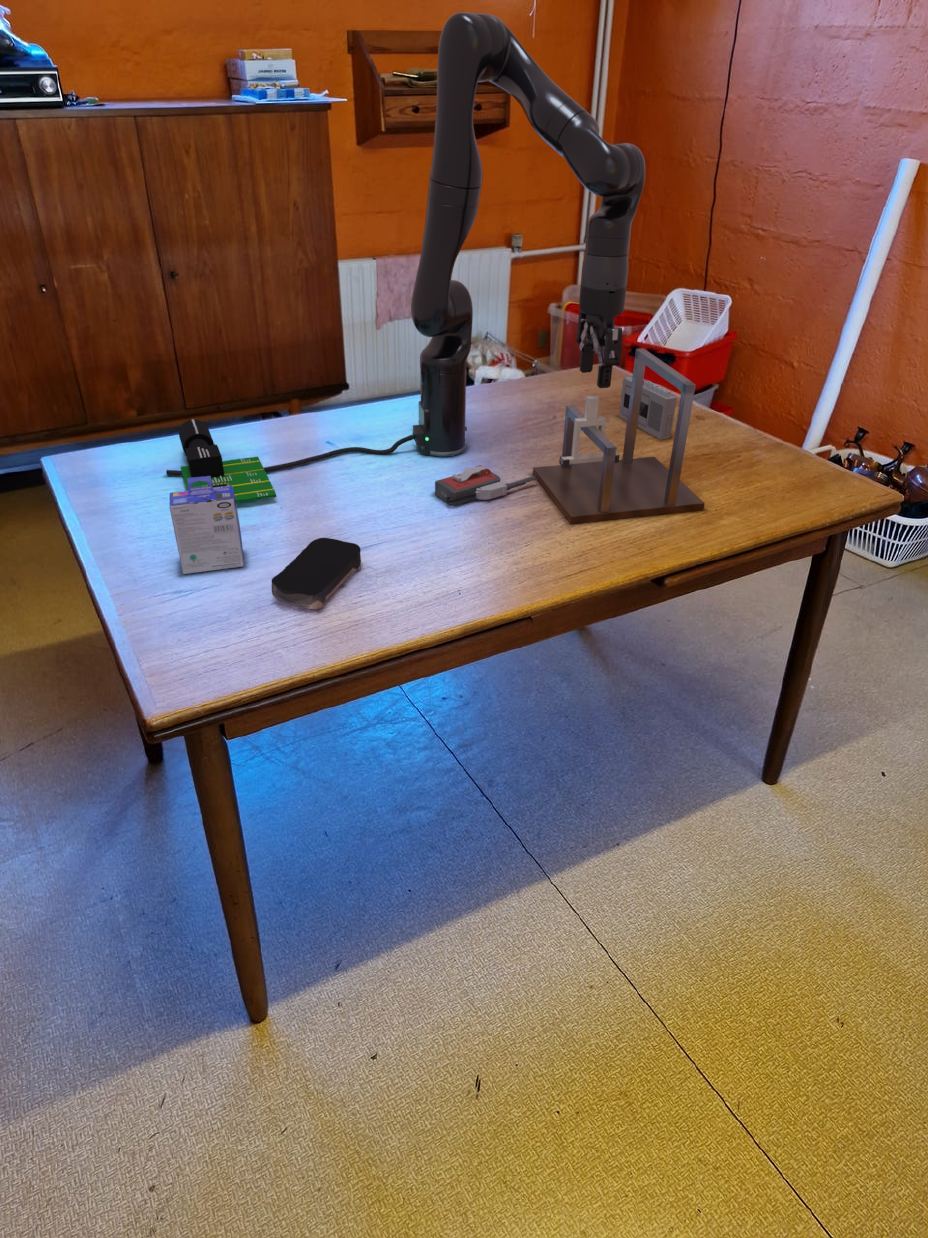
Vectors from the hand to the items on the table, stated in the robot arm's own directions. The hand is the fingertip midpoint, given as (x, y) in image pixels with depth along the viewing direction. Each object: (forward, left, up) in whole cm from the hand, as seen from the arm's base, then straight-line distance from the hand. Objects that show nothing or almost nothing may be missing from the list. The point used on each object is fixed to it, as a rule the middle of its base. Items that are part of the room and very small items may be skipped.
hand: (594, 379), depth 149 cm
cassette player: (+26, +31, -22) cm, 46 cm away
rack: (+6, 0, -22) cm, 23 cm away
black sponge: (-52, -21, -22) cm, 61 cm away
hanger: (+1, 0, -16) cm, 16 cm away
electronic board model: (-66, +23, -22) cm, 73 cm away
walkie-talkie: (-18, +6, -22) cm, 29 cm away
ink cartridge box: (-68, -11, -22) cm, 73 cm away
